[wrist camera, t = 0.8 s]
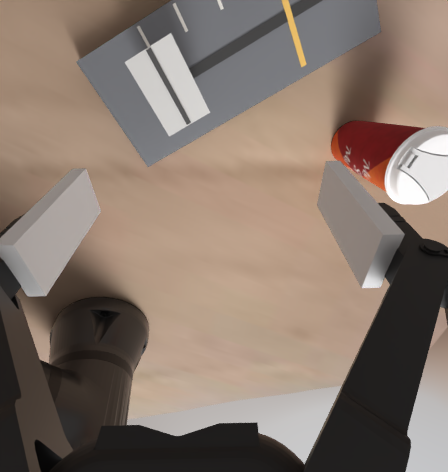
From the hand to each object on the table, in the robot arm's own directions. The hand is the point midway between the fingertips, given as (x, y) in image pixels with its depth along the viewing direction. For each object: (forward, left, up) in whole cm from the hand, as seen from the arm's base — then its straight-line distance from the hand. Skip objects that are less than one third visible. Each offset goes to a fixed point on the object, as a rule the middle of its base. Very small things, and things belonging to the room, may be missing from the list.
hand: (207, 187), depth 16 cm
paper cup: (+19, -12, -21) cm, 31 cm away
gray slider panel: (+9, +5, -21) cm, 23 cm away
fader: (+1, +5, -19) cm, 19 cm away
